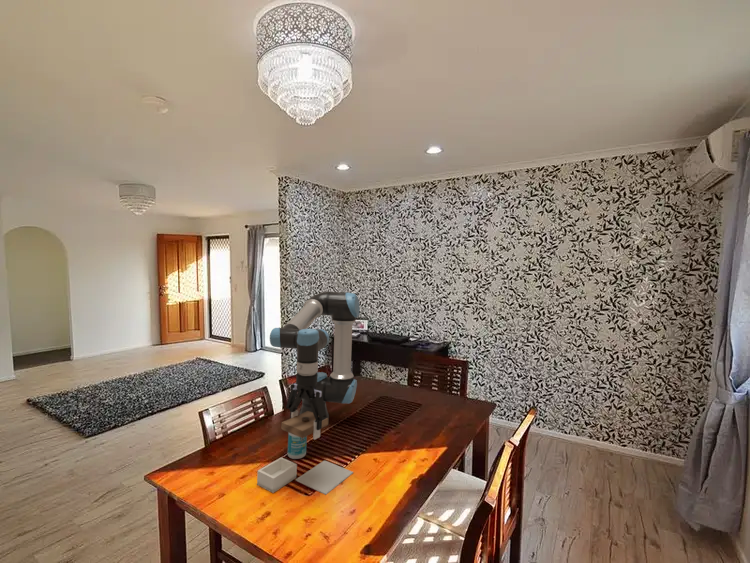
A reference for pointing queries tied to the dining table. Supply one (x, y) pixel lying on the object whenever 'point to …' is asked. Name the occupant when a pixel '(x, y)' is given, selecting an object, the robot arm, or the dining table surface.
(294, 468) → the dish
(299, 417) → the cover
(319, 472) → the mat
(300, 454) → the pill bottle
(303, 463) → the dining table surface
